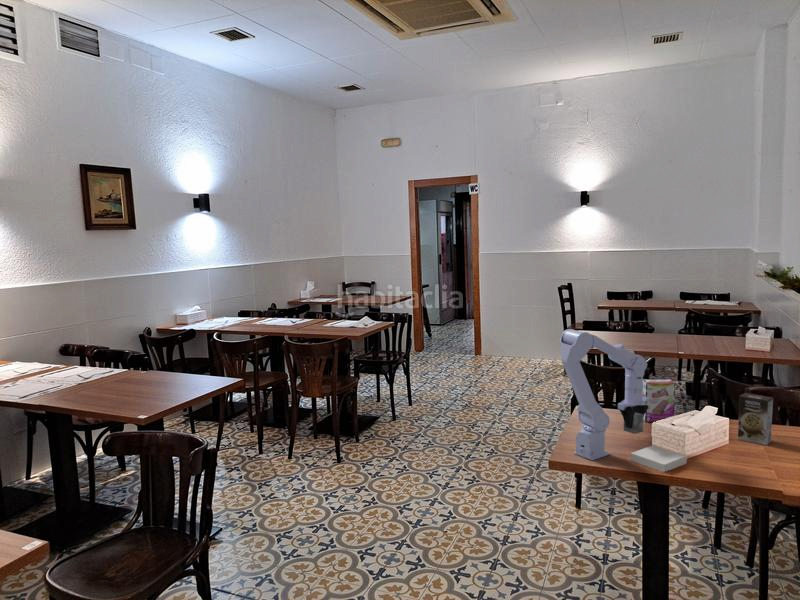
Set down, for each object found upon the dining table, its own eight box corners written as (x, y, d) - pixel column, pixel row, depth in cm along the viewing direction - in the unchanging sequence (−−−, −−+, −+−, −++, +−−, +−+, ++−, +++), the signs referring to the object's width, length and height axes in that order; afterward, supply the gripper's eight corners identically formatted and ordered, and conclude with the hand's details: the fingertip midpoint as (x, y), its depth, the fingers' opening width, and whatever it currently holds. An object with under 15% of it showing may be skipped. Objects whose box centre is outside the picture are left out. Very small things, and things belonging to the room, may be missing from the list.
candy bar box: (645, 422, 223) (645, 382, 221) (641, 418, 228) (641, 379, 226) (674, 422, 222) (675, 382, 220) (670, 418, 227) (670, 378, 225)
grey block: (634, 434, 194) (635, 417, 194) (623, 430, 198) (623, 413, 198) (643, 431, 197) (643, 414, 196) (631, 427, 201) (632, 411, 200)
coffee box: (737, 439, 202) (738, 395, 200) (743, 435, 206) (744, 392, 204) (766, 445, 195) (767, 400, 193) (772, 441, 199) (773, 396, 198)
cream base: (664, 472, 176) (664, 464, 176) (630, 460, 186) (630, 453, 186) (686, 463, 182) (686, 455, 182) (653, 452, 193) (653, 445, 192)
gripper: (630, 394, 189) (630, 433, 190) (657, 387, 196) (656, 425, 198) (612, 389, 195) (612, 427, 196) (639, 383, 202) (638, 419, 204)
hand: (633, 426), depth 197 cm, fingers closed on grey block, 4 cm apart
